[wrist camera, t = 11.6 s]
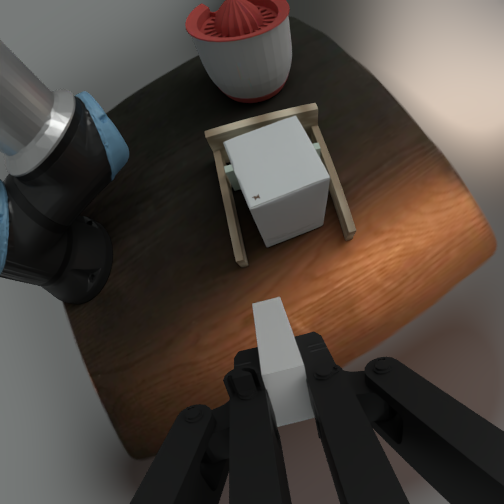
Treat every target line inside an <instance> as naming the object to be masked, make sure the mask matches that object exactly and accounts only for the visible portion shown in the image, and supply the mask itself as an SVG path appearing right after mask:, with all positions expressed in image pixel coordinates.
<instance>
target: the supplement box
mask: <svg viewBox="0 0 504 504" xmlns="http://www.w3.org/2000/svg"><path fill="white" fill-rule="evenodd" d="M223 144H224V147H225V149H226V152H227V155H228V157H229V160H230V162H231V165H232V168H233V170H234V173H235V175H236V178H237V180H238V183H239V185H240V188H241V190H242V192H243V195H244V197H245V200H246V202H247V205H248V207H249V209H250V211H251V214H252V216H253V218H254V220H255V223H256V225H257V227H258V229H259V232H260V234H261V236H262V238H263V240H264V243H265V245H266V247H270V246H272V245H275V244H278V243H280V242H283V241H285V240H288V239H290V238H293V237H295V236H298V235H300V234H303V233H305V232H308V231H311V230H313V229H316V228H318V227H320V226H322V225H323V222H324V216H325V209H326V203H327V196H328V189H329V182H330V176H329V174H328V172H327V170H326V168H325V167H324V165H323V163H322V161H321V159H320V157H319V155H318V154H317V152H316V150H315V148H314V146H313V144H312V143H311V141H310V139H309V137H308V135H307V134H306V132H305V130H304V128H303V127H302V125H301V123H300V122H299V120H298V118H297V117H296V116H293V117H290V118H286V119H283V120H281V121H278V122H275V123H273V124H270V125H267V126H264V127H262V128H259V129H256V130H253V131H250V132H248V133H245V134H242V135H240V136H237V137H234V138H232V139H229V140H227V141H225V142H223Z"/></svg>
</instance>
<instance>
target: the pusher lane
mask: <svg viewBox="0 0 504 504" xmlns="http://www.w3.org/2000/svg"><path fill="white" fill-rule="evenodd" d="M293 116H296V117H297V118H298V120H299V122H300V123H301V125H302V127H303V128H304V130H305V132H306V134H307V135H308V137H309V139H310V141H312V144H313V143H319V145H320V148H321V151H320V159H321V161H322V163H323V165H324V167H325V168H326V170H327V172H328V174H329V176H330V182H329V191H330V194H331V197H332V200H333V203H334V206H335V209H336V212H337V215H338V219H339V222H340V225H341V228H342V231H343V235H344V238H345V241H347V240H351V239H352V238H353V236H354V234H355V232H356V228H355V225H354V222H353V219H352V216H351V213H350V210H349V207H348V204H347V201H346V198H345V195H344V192H343V190H342V187H341V184H340V181H339V178H338V176H337V173H336V170H335V168H334V165H333V162H332V160H331V157H330V155H329V152H328V149H327V147H326V144H325V142H324V139H323V137H322V134H321V132H320V130H319V127H318V108H317V105H316V103H312V104H307V105H302V106H298V107H293V108H289V109H284V110H280V111H276V112H272V113H268V114H264V115H260V116H256V117H252V118H249V119H245V120H241V121H238V122H234V123H231V124H227V125H224V126H220V127H217V128H214V129H210V130H207V131H205V136H206V139H207V141H208V143H209V145H210V147H211V149H212V150H213V153H214V158H215V163H216V168H217V173H218V178H219V183H220V188H221V192H222V197H223V202H224V207H225V212H226V217H227V222H228V226H229V231H230V236H231V241H232V246H233V250H234V255H235V260H236V262H237V263H238V264H239V265H240V266H241V267H245V266H249V265H248V260H247V256H246V251H245V247H244V242H243V238H242V233H241V229H240V224H239V220H238V215H237V210H236V206H235V201H234V197H233V192H232V188H231V183H230V181H229V179H228V177H227V175H226V173H225V169H224V166H227V165H226V163H228V162H230V160H229V157H228V155H227V152H226V149H225V147H224V144H223V142H225V141H227V140H229V139H232V138H234V137H237V136H240V135H242V134H245V133H248V132H250V131H253V130H256V129H259V128H262V127H264V126H267V125H270V124H273V123H275V122H278V121H281V120H283V119H286V118H290V117H293Z"/></svg>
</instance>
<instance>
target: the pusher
mask: <svg viewBox="0 0 504 504" xmlns="http://www.w3.org/2000/svg"><path fill="white" fill-rule="evenodd" d="M313 146H314V148H315V150H316V152H317V154H318V155H319V157H320V151H321V148H320V145H319V143H313ZM224 169H225V173H226V175H227V177H228V179H229V181H230V183H231V185H232V187H233V189H234V191H236V190H239V189H241V188H240V185H239V183H238V180H237V178H236V175H235V173H234V170H233V168H232V165H228V166H224Z"/></svg>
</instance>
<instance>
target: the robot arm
mask: <svg viewBox="0 0 504 504" xmlns="http://www.w3.org/2000/svg"><path fill="white" fill-rule="evenodd" d="M0 151H1V152H2V153H4V159H5V167H6V170H7V172H8V173H9V175H8V176H7V177H6V178H5V180H4V181H3V182H2V181H1V180H0V277H2V278H7V279H11V280H15V281H20V282H24V283H29V284H34V285H38V286H41V287H43V288H44V289H45V290H47V291H48V292H49V293H51V294H52V295H53V296H55V297H56V298H57V299H59V300H61V301H63V302H67V303H73V304H81V303H85V302H87V301H89V300H91V299H92V298H94V297H95V296H96V295H97V294H98V293H99V292H100V291H101V289H102V288H103V286H104V285H105V283H106V281H107V279H108V276H109V274H110V270H111V266H112V259H113V250H112V243H111V240H110V237H109V234H108V232H107V231H106V229H105V228H104V227H103V226H102V225H101V224H100V223H98V222H96V221H95V220H93V219H91V218H89V217H85V216H79V215H80V213H81V212H82V211H83V210H84V209H85V208H86V207H87V206H88V205H89V204H90V203H91V201H92V200H93V199H94V198H95V197H96V196H97V195H98V194H99V193H100V192H101V191H102V190H103V189H104V188H105V187H106V186H107V185H108V184H109V183H110V182H111V181H112V180H113V179H114V178H115V175H116V174H117V173H118V172H119V171H120V170H121V168H122V167H123V166H124V165H125V164H126V163H127V161H128V158H129V149H128V147H127V145H126V143H125V141H124V139H123V138H122V136H121V134H120V133H119V131H118V130H117V128H116V127H115V125H114V124H113V123H112V121H111V120H110V119H109V118H108V117H107V115H106V114H105V112H104V111H103V109H102V108H101V106H100V105H99V104H98V103H97V102H96V100H95V99H94V98H93V97H92V96H91V95H90V94H89V93H87V92H85V91H83V92H81V93H80V94H78V95H76V96H74V95H73V94H72V93H71V92H70V91H69V90H66V89H61V90H55V91H50V90H49V89H48V88H47V87H46V86H45V85H44V84H43V83H42V82H41V81H40V80H39V79H38V78H37V77H36V76H35V75H34V73H32V71H31V70H30V69H29V68H28V67H27V66H26V65H25V64H24V63H23V62H22V61H21V60H20V59H19V58H18V57H17V56H16V55H15V54H14V53H13V52H12V51H11V50H10V49H9V48H8V47H7V46H6V45H5V44H4V43H3V42H2V41H1V40H0ZM253 312H254V320H255V328H256V336H257V344H258V347H256V348H251V349H247V350H243V351H239V352H238V353H237V355H236V356H235V358H234V369H233V370H231V371H230V372H228V373H227V374H226V375H225V377H224V380H223V381H224V384H225V386H226V389H227V392H228V394H229V397H230V400H229V401H228V402H227V403H226V404H224V405H222V406H220V407H218V408H215V409H213V410H211V409H210V408H209V407H208V406H206V405H201V404H199V405H192V406H190V407H187V408H186V409H184V410H183V411H181V412H180V414H179V415H178V416H177V418H176V420H175V422H174V424H173V426H172V428H171V429H170V431H169V433H168V435H167V437H166V439H165V440H164V442H163V444H162V446H161V448H160V450H159V451H158V453H157V455H156V457H155V459H154V461H153V462H152V465H151V466H150V468H149V470H148V472H147V473H146V475H145V477H144V479H143V481H142V483H141V484H140V486H139V488H138V490H137V491H136V493H135V495H134V497H133V499H132V501H131V502H130V504H218V503H219V500H220V497H221V494H222V491H223V488H224V485H225V482H226V479H227V476H228V473H229V504H292V503H291V497H290V491H289V487H288V480H287V474H286V469H285V463H284V457H283V451H282V446H281V441H280V435H279V432H278V429H277V427H278V426H283V425H287V424H291V423H295V422H299V421H303V420H307V419H310V418H314V417H315V420H316V425H317V430H318V435H319V438H320V439H321V442H322V445H323V448H324V452H325V455H326V458H327V462H328V464H329V468H330V471H331V474H332V478H333V481H334V485H335V488H336V491H337V494H338V498H339V501H340V504H409V502H408V500H407V497H406V495H405V493H404V491H403V489H402V487H401V485H400V483H399V481H398V479H397V477H396V475H395V473H394V471H393V469H392V466H391V464H390V462H389V460H388V458H387V456H386V454H385V452H384V451H383V448H382V446H381V444H380V442H379V440H378V438H377V436H376V434H375V432H374V430H375V431H376V432H377V433H378V434H379V435H380V436H381V437H382V438H383V439H384V440H385V441H386V442H387V443H388V444H389V445H390V446H391V447H392V448H393V449H394V450H395V451H396V452H397V453H398V454H399V455H400V456H402V458H403V459H404V460H405V461H406V462H407V463H409V465H410V466H411V467H413V468H414V469H415V470H416V471H417V472H418V473H419V474H420V475H421V476H422V477H423V478H424V479H425V480H426V481H427V482H428V483H429V484H430V485H431V486H432V487H433V488H435V489H436V490H437V491H438V492H439V493H440V494H441V495H442V496H443V497H444V498H445V499H446V500H447V501H448V502H449V503H450V504H504V431H502V430H501V429H499V428H498V427H496V426H494V425H493V424H492V423H490V422H488V421H487V420H486V419H484V418H482V417H481V416H480V415H478V414H476V413H475V412H474V411H472V410H471V409H469V408H468V407H466V406H465V405H463V404H462V403H460V402H459V401H457V400H456V399H454V398H453V397H451V396H450V395H448V394H447V393H445V392H444V391H442V390H441V389H439V388H438V387H436V386H435V385H433V384H432V383H430V382H429V381H427V380H426V379H424V378H423V377H422V376H420V375H419V374H417V373H416V372H414V371H413V370H411V369H410V368H408V367H407V366H405V365H404V364H402V363H401V362H399V361H398V360H396V359H394V358H391V357H381V358H377V359H374V360H372V361H370V362H369V363H368V364H367V365H366V367H365V371H358V372H348V371H344V370H342V368H341V367H340V366H338V365H336V364H335V362H334V360H333V358H332V356H331V354H330V352H329V350H328V348H327V346H326V344H325V343H324V340H323V338H322V337H321V335H319V334H317V333H316V332H311V333H307V334H304V335H300V336H296V337H294V335H293V332H292V329H291V327H290V324H289V321H288V318H287V315H286V312H285V310H284V307H283V304H282V301H281V298H280V297H277V298H273V299H269V300H265V301H261V302H258V303H254V304H253ZM373 429H374V430H373Z"/></svg>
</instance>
